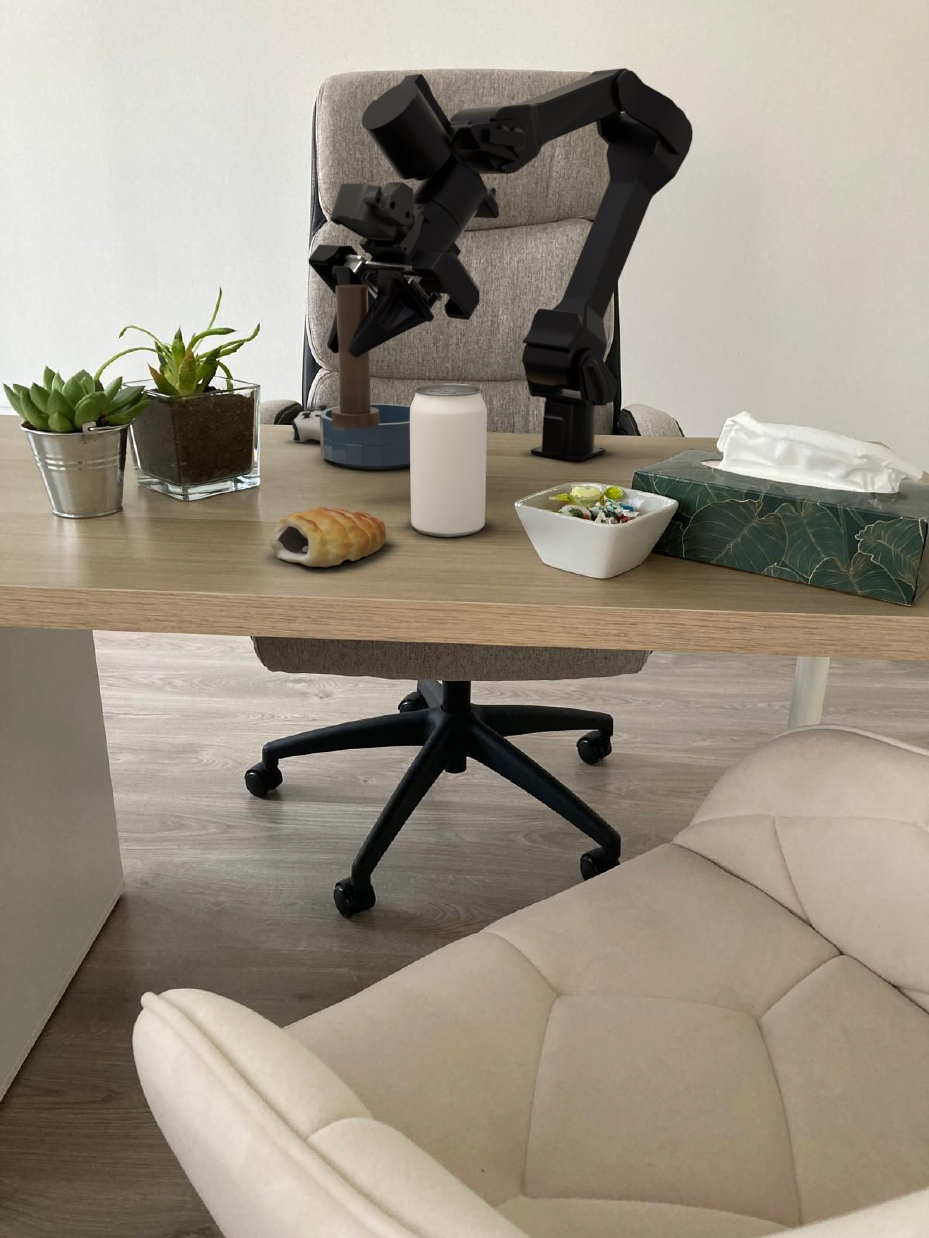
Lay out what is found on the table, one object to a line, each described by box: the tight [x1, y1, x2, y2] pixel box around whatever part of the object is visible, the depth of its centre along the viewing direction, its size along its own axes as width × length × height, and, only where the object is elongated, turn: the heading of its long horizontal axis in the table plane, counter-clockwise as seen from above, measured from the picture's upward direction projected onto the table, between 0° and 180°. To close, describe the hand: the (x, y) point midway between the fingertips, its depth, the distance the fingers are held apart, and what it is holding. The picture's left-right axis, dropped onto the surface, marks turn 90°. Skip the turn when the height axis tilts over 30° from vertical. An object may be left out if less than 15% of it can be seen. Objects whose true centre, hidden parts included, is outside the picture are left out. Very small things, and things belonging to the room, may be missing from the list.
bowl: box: [319, 403, 411, 470], centre depth 113 cm, size 12×12×5 cm
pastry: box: [270, 506, 387, 569], centre depth 82 cm, size 9×7×4 cm
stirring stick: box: [331, 284, 379, 428], centre depth 93 cm, size 4×4×12 cm
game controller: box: [291, 404, 328, 443], centre depth 123 cm, size 10×5×6 cm
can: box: [409, 382, 488, 538], centre depth 87 cm, size 6×6×12 cm
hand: (341, 352), depth 92 cm, fingers closed on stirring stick, 3 cm apart
